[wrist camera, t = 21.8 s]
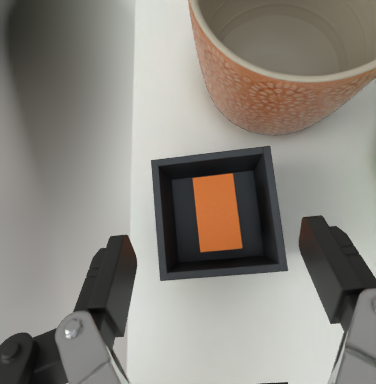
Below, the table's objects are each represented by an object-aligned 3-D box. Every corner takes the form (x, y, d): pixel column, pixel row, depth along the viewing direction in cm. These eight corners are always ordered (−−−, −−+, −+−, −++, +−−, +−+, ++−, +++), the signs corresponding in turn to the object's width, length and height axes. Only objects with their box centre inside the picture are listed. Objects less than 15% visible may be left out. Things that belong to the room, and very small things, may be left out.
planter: (173, 98, 42) (137, -6, 24) (257, 0, 43) (287, -175, 24) (280, 180, 39) (338, 134, 20) (369, 72, 39) (507, -69, 21)
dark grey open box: (174, 267, 39) (160, 281, 29) (166, 176, 41) (151, 160, 31) (269, 260, 37) (288, 271, 28) (257, 165, 39) (270, 145, 30)
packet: (204, 246, 38) (200, 252, 28) (198, 190, 39) (192, 178, 29) (236, 243, 37) (242, 248, 28) (229, 187, 39) (232, 172, 29)
